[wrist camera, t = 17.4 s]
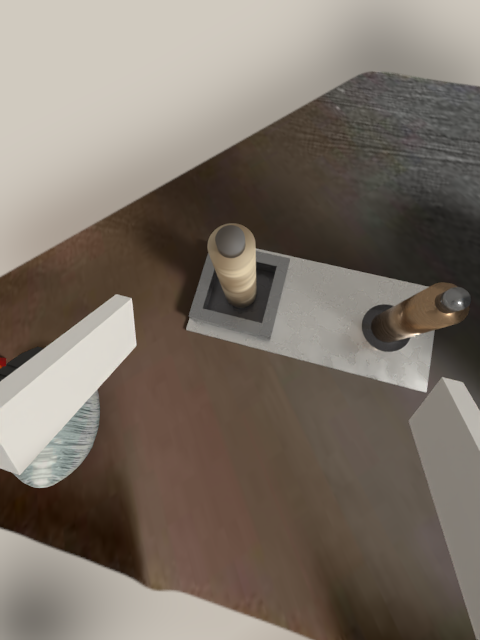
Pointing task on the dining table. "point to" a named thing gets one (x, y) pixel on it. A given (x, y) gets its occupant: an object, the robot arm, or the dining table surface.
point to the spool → (65, 447)
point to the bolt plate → (333, 317)
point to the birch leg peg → (234, 262)
